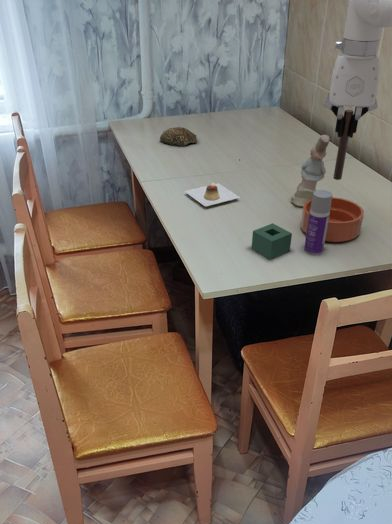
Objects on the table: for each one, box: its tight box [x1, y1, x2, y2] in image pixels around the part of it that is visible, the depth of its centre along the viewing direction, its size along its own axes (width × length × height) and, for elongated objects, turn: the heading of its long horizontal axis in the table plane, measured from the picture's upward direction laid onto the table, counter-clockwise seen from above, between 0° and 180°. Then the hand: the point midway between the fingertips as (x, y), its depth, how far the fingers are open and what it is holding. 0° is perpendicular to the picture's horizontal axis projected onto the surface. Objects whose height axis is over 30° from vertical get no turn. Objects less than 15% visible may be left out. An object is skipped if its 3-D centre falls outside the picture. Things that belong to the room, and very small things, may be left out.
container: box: [303, 189, 333, 256], centre depth 131 cm, size 5×5×15 cm
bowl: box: [300, 196, 365, 243], centre depth 143 cm, size 15×15×6 cm
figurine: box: [291, 134, 331, 208], centre depth 152 cm, size 9×8×20 cm
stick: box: [333, 109, 354, 181], centre depth 130 cm, size 2×2×16 cm
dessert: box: [183, 181, 241, 208], centre depth 158 cm, size 12×12×5 cm
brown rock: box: [159, 126, 198, 147], centre depth 196 cm, size 13×12×5 cm
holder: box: [251, 222, 293, 260], centre depth 135 cm, size 7×7×5 cm
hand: (344, 135), depth 128 cm, fingers closed on stick, 2 cm apart
